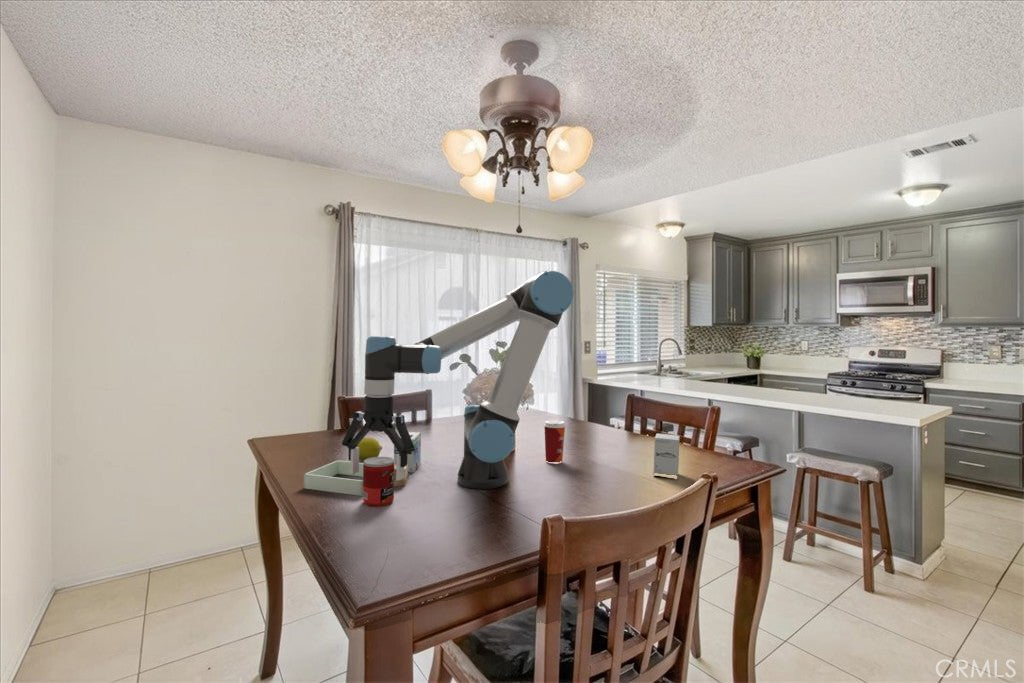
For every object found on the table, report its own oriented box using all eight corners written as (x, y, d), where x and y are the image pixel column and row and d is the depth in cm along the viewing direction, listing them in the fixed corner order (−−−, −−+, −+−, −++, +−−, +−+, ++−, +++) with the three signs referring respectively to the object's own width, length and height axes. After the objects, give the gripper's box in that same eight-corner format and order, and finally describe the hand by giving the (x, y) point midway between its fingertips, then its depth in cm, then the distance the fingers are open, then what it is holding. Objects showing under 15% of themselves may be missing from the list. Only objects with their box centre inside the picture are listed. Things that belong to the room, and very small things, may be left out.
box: (392, 479, 146) (392, 466, 145) (362, 496, 131) (362, 481, 131) (337, 473, 151) (337, 460, 151) (303, 488, 136) (303, 474, 136)
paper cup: (566, 465, 163) (567, 424, 163) (543, 464, 164) (544, 423, 163) (564, 459, 171) (564, 419, 171) (542, 458, 171) (543, 419, 171)
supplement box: (652, 477, 152) (653, 437, 152) (655, 470, 159) (656, 432, 158) (677, 480, 149) (678, 439, 149) (678, 473, 156) (679, 434, 156)
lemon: (381, 457, 170) (381, 434, 170) (383, 463, 163) (383, 439, 163) (348, 459, 166) (348, 436, 166) (349, 465, 159) (349, 441, 159)
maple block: (407, 480, 145) (407, 464, 145) (404, 486, 140) (405, 469, 140) (390, 481, 144) (390, 464, 144) (387, 486, 139) (387, 469, 139)
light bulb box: (414, 473, 153) (414, 439, 152) (392, 472, 153) (393, 438, 152) (421, 463, 163) (421, 431, 163) (401, 463, 163) (401, 431, 163)
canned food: (386, 508, 122) (386, 465, 122) (357, 505, 124) (357, 463, 124) (399, 498, 130) (399, 457, 130) (371, 495, 131) (372, 455, 131)
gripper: (429, 397, 126) (426, 477, 127) (347, 390, 133) (344, 466, 134) (415, 400, 119) (412, 486, 119) (329, 393, 126) (327, 474, 127)
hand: (376, 476), depth 127 cm, fingers open, 13 cm apart
